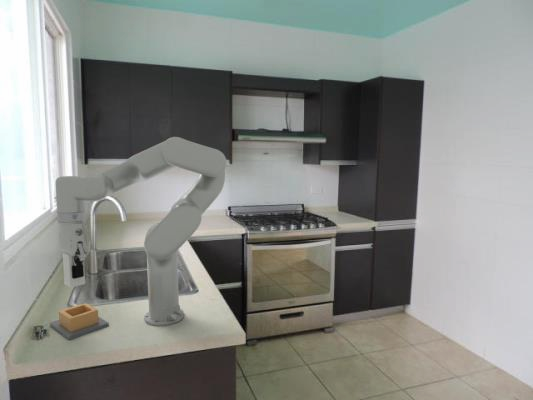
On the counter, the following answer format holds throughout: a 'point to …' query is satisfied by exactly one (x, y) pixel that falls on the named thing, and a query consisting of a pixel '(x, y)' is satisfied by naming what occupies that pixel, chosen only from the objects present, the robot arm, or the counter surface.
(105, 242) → the counter surface
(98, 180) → the robot arm
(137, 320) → the counter surface
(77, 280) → the white plug
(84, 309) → the socket block
